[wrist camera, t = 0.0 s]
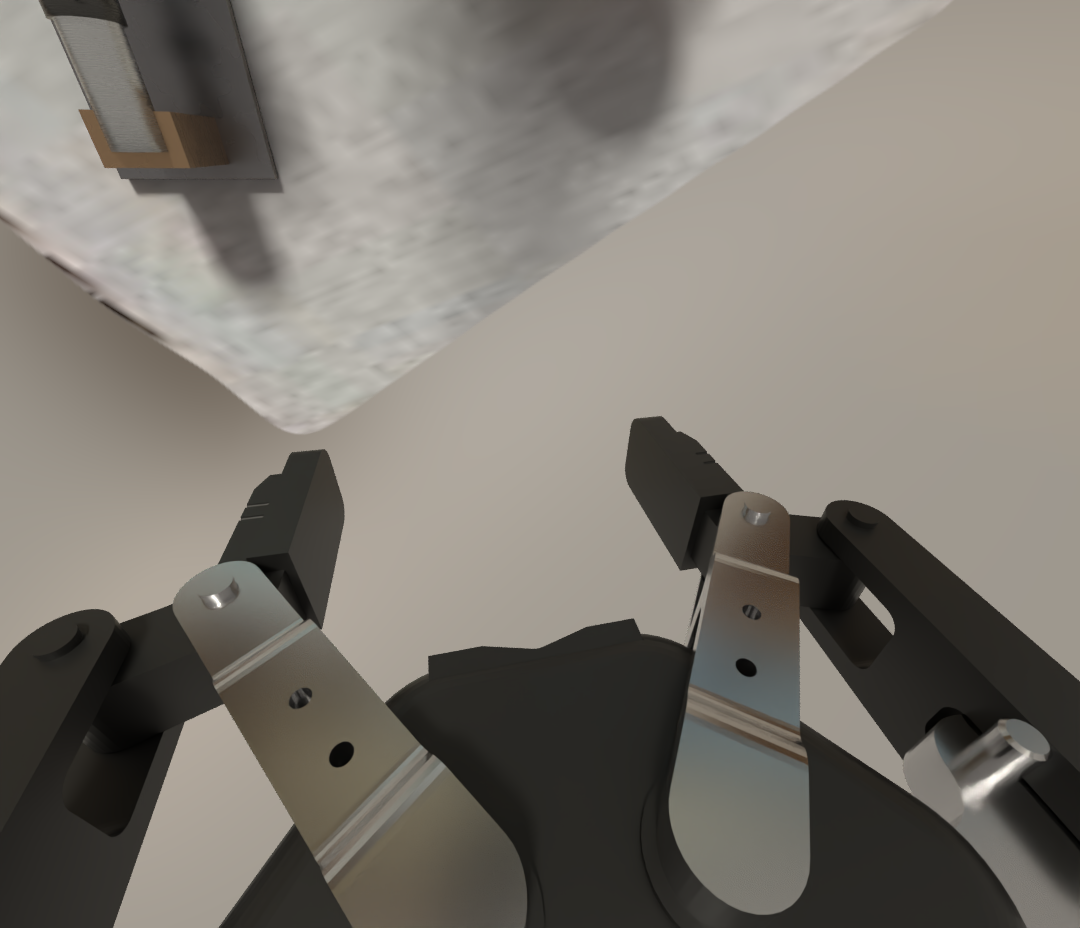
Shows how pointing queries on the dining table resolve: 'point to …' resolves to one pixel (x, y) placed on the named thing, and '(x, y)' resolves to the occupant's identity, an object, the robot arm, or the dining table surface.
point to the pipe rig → (165, 87)
